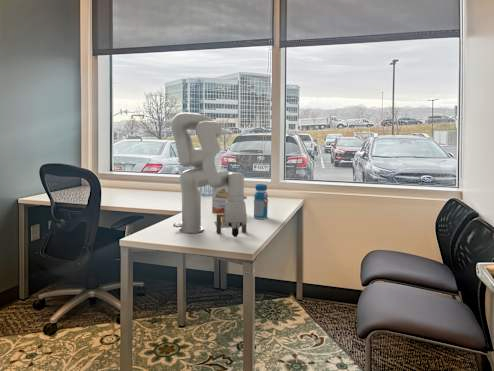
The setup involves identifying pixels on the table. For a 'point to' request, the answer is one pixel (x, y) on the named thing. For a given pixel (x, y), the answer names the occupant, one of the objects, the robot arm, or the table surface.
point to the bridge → (218, 228)
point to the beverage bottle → (260, 202)
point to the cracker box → (219, 199)
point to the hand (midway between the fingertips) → (235, 236)
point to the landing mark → (224, 224)
